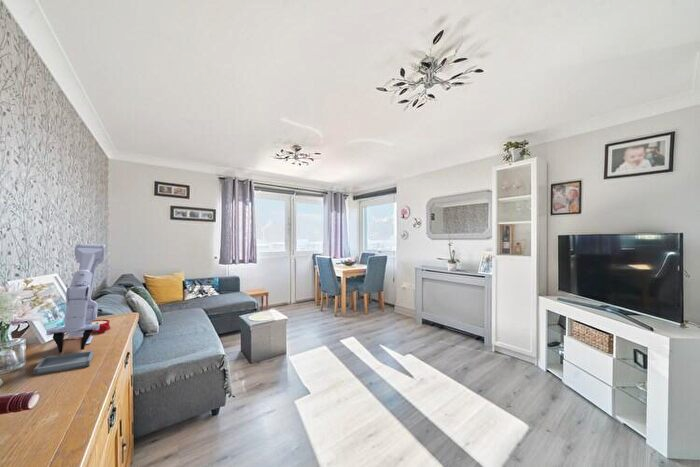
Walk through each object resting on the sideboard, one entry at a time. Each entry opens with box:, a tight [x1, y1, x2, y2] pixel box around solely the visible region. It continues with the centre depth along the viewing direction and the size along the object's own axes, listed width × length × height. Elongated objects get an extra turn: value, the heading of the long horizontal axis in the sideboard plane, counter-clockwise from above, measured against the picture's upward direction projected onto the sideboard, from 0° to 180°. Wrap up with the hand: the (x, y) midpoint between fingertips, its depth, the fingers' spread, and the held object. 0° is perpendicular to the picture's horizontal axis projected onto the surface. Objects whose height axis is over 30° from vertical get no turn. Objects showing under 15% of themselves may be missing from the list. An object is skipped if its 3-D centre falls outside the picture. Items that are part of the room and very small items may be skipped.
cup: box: [60, 336, 83, 355], centre depth 105 cm, size 6×6×7 cm
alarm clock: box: [92, 319, 111, 334], centre depth 132 cm, size 10×6×15 cm
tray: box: [32, 350, 95, 376], centre depth 98 cm, size 11×14×2 cm
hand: (71, 350), depth 105 cm, fingers closed on cup, 6 cm apart
